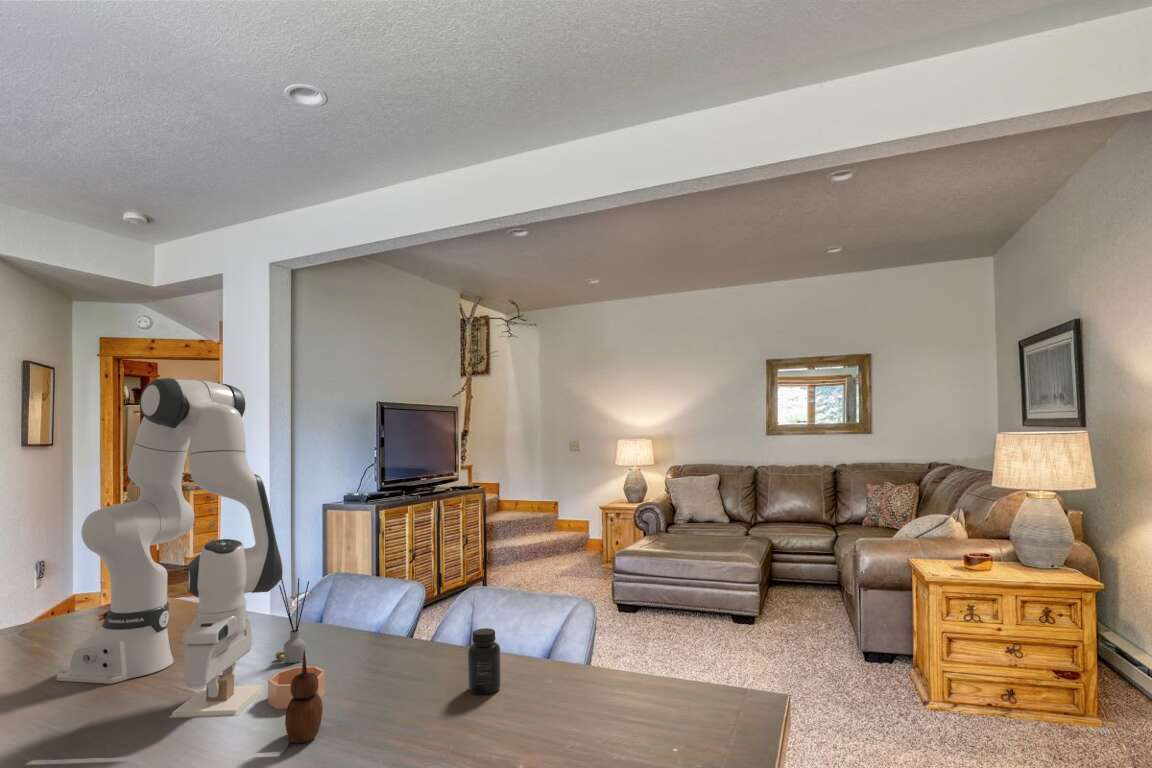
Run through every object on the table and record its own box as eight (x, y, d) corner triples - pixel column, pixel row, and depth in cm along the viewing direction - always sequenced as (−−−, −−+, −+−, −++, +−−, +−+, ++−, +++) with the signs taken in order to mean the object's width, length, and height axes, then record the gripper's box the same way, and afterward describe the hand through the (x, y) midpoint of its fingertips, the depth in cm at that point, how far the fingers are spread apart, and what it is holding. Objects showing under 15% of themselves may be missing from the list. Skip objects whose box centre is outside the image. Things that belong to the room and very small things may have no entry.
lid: (172, 716, 124) (173, 690, 125) (205, 690, 136) (206, 667, 137) (235, 714, 125) (236, 688, 125) (263, 688, 137) (263, 665, 137)
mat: (168, 720, 124) (168, 717, 124) (204, 692, 137) (204, 689, 137) (237, 718, 124) (237, 715, 124) (266, 690, 137) (266, 687, 137)
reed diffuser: (316, 661, 154) (317, 576, 155) (294, 672, 148) (295, 583, 149) (283, 656, 158) (284, 573, 159) (260, 666, 151) (262, 580, 152)
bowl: (261, 712, 127) (261, 686, 127) (282, 691, 137) (282, 667, 137) (312, 710, 127) (313, 684, 128) (330, 689, 137) (330, 665, 138)
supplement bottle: (506, 685, 138) (506, 628, 139) (489, 698, 132) (489, 638, 133) (479, 680, 141) (479, 624, 142) (461, 692, 135) (461, 634, 136)
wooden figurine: (293, 730, 119) (295, 647, 120) (326, 728, 120) (326, 646, 121) (280, 748, 112) (281, 661, 113) (314, 747, 113) (315, 659, 114)
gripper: (231, 607, 142) (229, 671, 141) (177, 638, 121) (175, 714, 121) (260, 606, 142) (259, 671, 141) (211, 637, 122) (209, 713, 121)
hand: (220, 691), depth 131 cm, fingers closed on lid, 3 cm apart
